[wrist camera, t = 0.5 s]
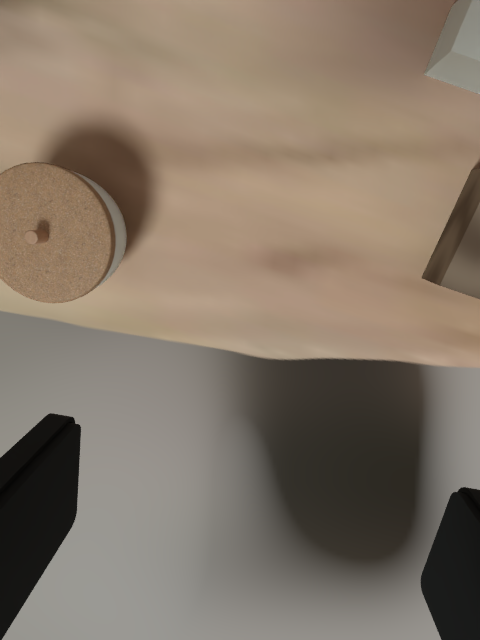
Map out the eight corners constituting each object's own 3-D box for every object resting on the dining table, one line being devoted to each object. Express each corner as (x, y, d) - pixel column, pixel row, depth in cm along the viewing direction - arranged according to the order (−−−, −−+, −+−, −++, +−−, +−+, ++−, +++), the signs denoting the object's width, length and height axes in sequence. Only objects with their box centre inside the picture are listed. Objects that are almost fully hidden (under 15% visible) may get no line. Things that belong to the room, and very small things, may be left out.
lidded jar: (32, 276, 39) (-38, 295, 30) (34, 163, 36) (-43, 147, 27) (137, 294, 39) (97, 319, 30) (147, 183, 36) (107, 172, 27)
